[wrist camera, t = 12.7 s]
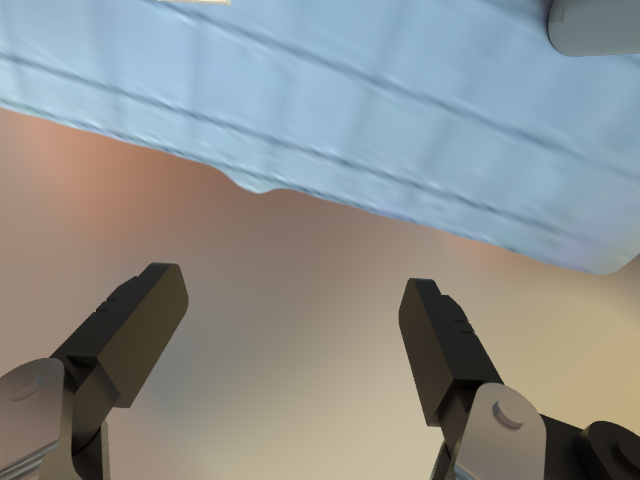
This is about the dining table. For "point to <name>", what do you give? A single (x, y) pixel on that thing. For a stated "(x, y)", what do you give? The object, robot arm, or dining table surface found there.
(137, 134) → the dining table surface
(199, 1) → the display stand
